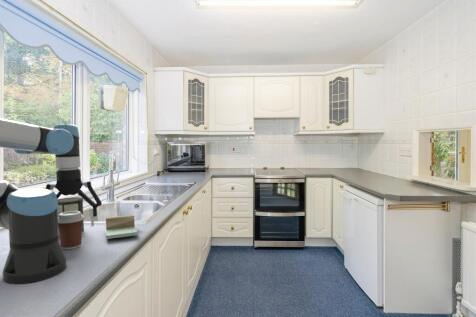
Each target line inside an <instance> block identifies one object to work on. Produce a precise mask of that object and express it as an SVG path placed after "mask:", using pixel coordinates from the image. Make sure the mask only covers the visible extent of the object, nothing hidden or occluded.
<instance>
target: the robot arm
mask: <svg viewBox="0 0 476 317" xmlns="http://www.w3.org/2000/svg"><path fill="white" fill-rule="evenodd" d="M0 148H2V149H9V150H10V149H11V150H13V151H14V153H16V154H18V155H29V154H31V155H32V154H34V155H35V154H37V155H38V154H39V155H41V154H42V155H55V168H56V169H57V170H56V171H55V172H56V174H55V175H56V183H51V182H49V183H47V184H46V185H45V188H35V187H33V188H31V187H30V188H23V189H22V188H19V187H17V185H14V184H13V183H11V182H9V181H8V180H5V179H3V180H0V228H3V229H6V230H8V237H9V251H8V253H7V254H8V255H7V258H6V261H5V264H4V266H3V269H2V278H3V281H4V282H6V283H8V284H15V285H16V284H17V285H18V284H28V283H34V282H40V281H43V280H46V279H50V278H52V277H54V276H57V275H59V274H60V273H62V272H64V271H65V269H66V268H67V265H68V264H67V263H68V262H67V258H66V255H65V252H64V249H62V248H61V243H60V237H59V235H58V202H57V199H60V197H61V195H62V196H69V195H70V196H76V195H79V196H80V198H83V200H85V202H86V203H87V204H88V205H89V206H91V207H90V220H91V221H90V224H91V225H90V227H94V226H95V219H94V218H95V217H97V215H98V210H97V209H98V207H100V206H102V205H103V204H102V202H103V201H101V199H100V197H99V196H98V194H97V192H96V191H95V190H94V188H93V186H92V181H91V180H87V181H82V172H81V171H82V170H81V155H80V133H79V128H78V126H77V125H75V124H55V125H54V126H53V128H52V127H46V126H39V125H37V124H32V123H31V124H29V123H27V122H26V123H25V122H20V121H15V120H9V119H5V118H0ZM83 186H84V187H85V188H86V189H88V192H89V193H90V194H91V196H92V197H93V199H94V200H92V199H91V198H90V197H89V196H88V195H87V194H86V193H85V192H84V191H83V190H82V189H81V188H82V187H83ZM55 188H56V190H57V191H58V192H57V193H56V192H55V191H53V190H54V189H55ZM79 196H78V197H79ZM94 201H95V202H96V203H95V202H94Z"/></svg>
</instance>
